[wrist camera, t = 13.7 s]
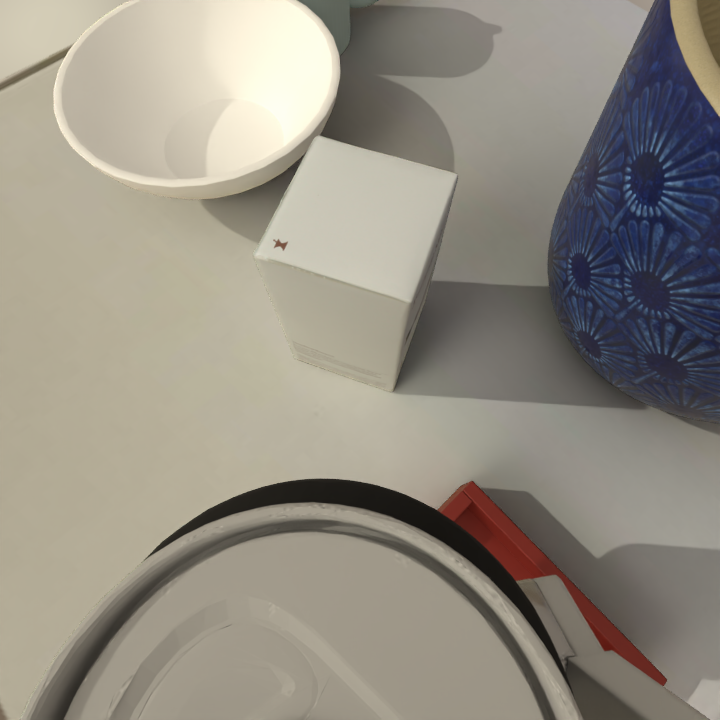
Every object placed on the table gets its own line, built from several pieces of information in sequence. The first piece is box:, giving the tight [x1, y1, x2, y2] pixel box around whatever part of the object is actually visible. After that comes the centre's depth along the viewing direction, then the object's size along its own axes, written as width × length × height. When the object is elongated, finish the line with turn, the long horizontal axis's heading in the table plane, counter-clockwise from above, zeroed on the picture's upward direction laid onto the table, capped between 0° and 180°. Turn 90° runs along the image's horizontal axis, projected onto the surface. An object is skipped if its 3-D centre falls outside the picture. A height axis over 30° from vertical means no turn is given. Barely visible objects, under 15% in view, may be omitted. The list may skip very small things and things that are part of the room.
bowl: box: [53, 0, 340, 200], centre depth 34 cm, size 20×20×7 cm
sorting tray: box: [437, 481, 667, 686], centre depth 23 cm, size 13×13×3 cm
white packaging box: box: [253, 135, 458, 392], centre depth 26 cm, size 7×7×13 cm
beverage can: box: [20, 479, 583, 720], centre depth 10 cm, size 7×7×12 cm
